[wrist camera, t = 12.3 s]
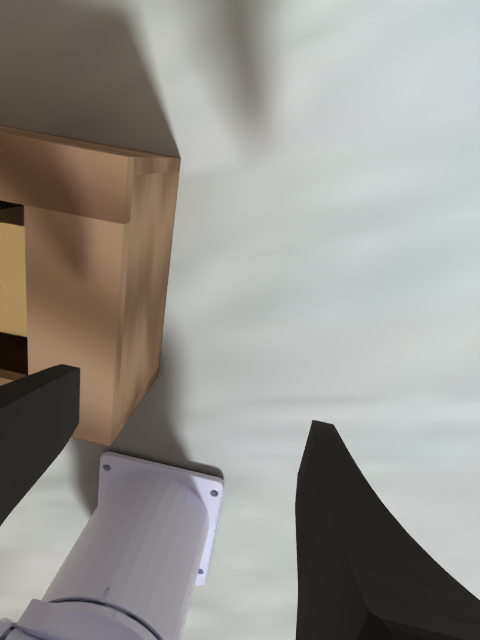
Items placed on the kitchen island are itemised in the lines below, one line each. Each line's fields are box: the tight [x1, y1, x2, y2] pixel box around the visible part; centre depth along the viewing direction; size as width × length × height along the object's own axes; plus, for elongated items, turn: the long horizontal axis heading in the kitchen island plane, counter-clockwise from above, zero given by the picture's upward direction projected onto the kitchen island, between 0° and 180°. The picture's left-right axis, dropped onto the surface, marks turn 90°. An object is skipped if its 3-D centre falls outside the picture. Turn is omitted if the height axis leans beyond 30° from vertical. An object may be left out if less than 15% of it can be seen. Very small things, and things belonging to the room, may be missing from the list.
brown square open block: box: [0, 126, 181, 446], centre depth 20 cm, size 12×12×6 cm
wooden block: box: [0, 206, 27, 337], centre depth 20 cm, size 5×3×5 cm, turn 172°
